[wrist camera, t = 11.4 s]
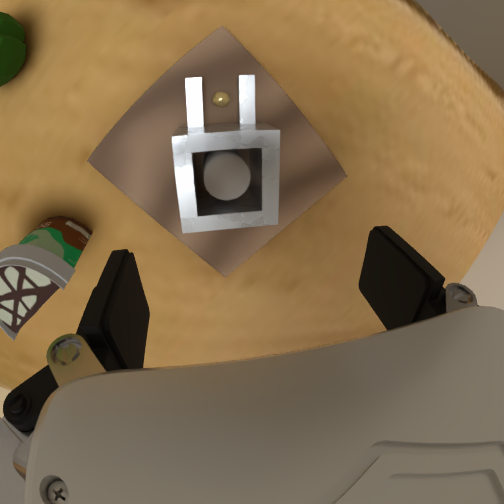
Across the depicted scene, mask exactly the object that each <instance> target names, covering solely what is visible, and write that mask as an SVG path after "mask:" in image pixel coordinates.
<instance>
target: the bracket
mask: <svg viewBox="0 0 504 504" xmlns="http://www.w3.org/2000/svg"><path fill="white" fill-rule="evenodd" d="M185 80H186V102H187V120H188V126H184V127H178V128H177V129H176V131H175V132H174V134H173V135H172V148H173V158H174V168H175V177H176V186H177V195H178V203H179V210H180V218H181V225H182V232H183V234H184V233H193V232H203V231H213V230H223V229H233V228H244V227H255V226H266V225H278V210H279V170H280V130H279V129H277V128H275V127H273V126H271V125H269V124H267V123H265V122H255V75H238V76H237V120H238V122H234V123H217V124H203V103H202V77H196V78H185ZM245 148H249V171H250V183H249V186H248V188H247V190H246V191H245V192H244V193H243V194H242V195H241V196H239V197H237V198H235V199H232V200H221V199H217V198H215V197H214V196H212V195H211V194H210V193H209V192H208V191H207V190H201V191H197V181H196V169H195V156H194V152H203V151H215V150H228V149H245Z"/></svg>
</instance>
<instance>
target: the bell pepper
mask: <svg viewBox="0 0 504 504" xmlns="http://www.w3.org/2000/svg"><path fill="white" fill-rule="evenodd" d="M24 38H25V32H24V29H23V26H22V25H21V24H20V23H19V22H18V21H17V20H15V19H14V18H13V17H12V16H10V15H9V14H6V13H2V12H0V87H1V86H2V85H4V84H6V83H8V82H9V81H10V80H11V79H12V78H13V77H14V76H15V75H16V74H17V73H18V72H19V70H20V68H21V66H22V64H23V63H24V61H25V57H26V45H25V44H24V43H23V41H24Z"/></svg>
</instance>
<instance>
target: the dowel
mask: <svg viewBox="0 0 504 504" xmlns="http://www.w3.org/2000/svg"><path fill="white" fill-rule="evenodd" d="M229 101H230V98H229V95H228V94H227V93H225V92H217V93H215V94H214V95H213V96H212V102H213V104H214V105H216V106H218V107H224V106H226V105H227V104H228V103H229Z"/></svg>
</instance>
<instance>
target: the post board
mask: <svg viewBox="0 0 504 504" xmlns="http://www.w3.org/2000/svg"><path fill="white" fill-rule="evenodd" d="M238 75H255V122H265V123H267V124H269V125H271V126H273V127H275V128H277V129H279V130H280V170H279V210H278V225H266V226H255V227H244V228H233V229H223V230H213V231H203V232H193V233H184V234H183V232H182V225H181V218H180V210H179V203H178V195H177V186H176V177H175V168H174V158H173V148H172V135H173V134H174V132H175V131H176V129H177V128H178V127H184V126H188V120H187V102H186V80H185V78H196V77H202V103H203V124H217V123H234V122H238V120H237V76H238ZM217 92H225V93H227V94H228V95H229V98H230V101H229V103H228V104H227V105H226V106H224V107H218V106H216V105H214V104H213V102H212V96H213V95H214V94H215V93H217ZM194 156H195V169H196V181H197V191H201V190H207V191H208V192H209V193H210V194H211V195H212V196H214V197H215V198H217V199H221V200H232V199H235V198H237V197H239V196H241V195H242V194H243V193H244V192H245V191H246V190H247V188H248V186H249V183H250V171H249V148H245V149H228V150H215V151H203V152H194ZM87 161H88V162H89V163H90V164H91V165H92V166H93V167H94V168H95V169H97V170H98V171H99V172H100V173H101V174H102V175H103V176H104V177H106V178H107V179H108V180H109V181H110V182H111V183H112V184H114V185H115V186H116V187H117V188H118V189H119V190H120V191H122V192H123V193H124V194H125V195H126V196H127V197H129V198H130V199H131V200H132V201H133V202H134V203H136V204H137V205H138V206H139V207H140V208H141V209H143V210H144V211H145V212H146V213H147V214H149V215H150V216H151V217H152V218H153V219H154V220H156V221H157V222H158V223H159V224H160V225H162V226H163V227H164V228H165V229H166V230H168V231H169V232H170V233H171V234H173V235H174V236H175V237H176V238H177V239H179V240H180V241H181V242H182V243H183V244H185V245H186V246H187V247H188V248H190V249H191V250H192V251H193V252H195V253H196V254H197V255H198V256H199V257H201V258H202V259H203V260H204V261H206V262H207V263H208V264H209V265H211V266H212V267H213V268H214V269H216V270H217V271H218V272H220V273H221V274H222V275H223V276H225V277H226V276H228V275H229V274H230V273H231V272H232V271H234V270H235V269H236V268H237V267H238V266H240V265H241V264H242V263H243V262H244V261H246V260H247V259H248V258H249V257H251V256H252V255H253V254H254V253H255V252H257V251H258V250H259V249H260V248H261V247H263V246H264V245H265V244H266V243H267V242H269V241H270V240H271V239H272V238H273V237H275V236H276V235H277V234H278V233H279V232H281V231H282V230H283V229H284V228H285V227H287V226H288V225H289V224H290V223H291V222H293V221H294V220H295V219H296V218H297V217H299V216H300V215H301V214H302V213H303V212H305V211H306V210H307V209H308V208H309V207H311V206H312V205H313V204H314V203H316V202H317V201H318V200H319V199H320V198H322V197H323V196H324V195H325V194H326V193H328V192H329V191H330V190H331V189H332V188H334V187H335V186H336V185H337V184H338V183H340V182H341V181H342V180H343V179H344V178H346V177H347V175H346V173H345V172H344V170H343V169H342V167H341V166H340V164H339V163H338V161H337V160H336V159H335V157H334V156H333V154H332V153H331V151H330V150H329V149H328V147H327V146H326V144H325V143H324V142H323V140H322V139H321V138H320V136H319V135H318V134H317V132H316V131H315V130H314V128H313V127H312V126H311V124H310V123H309V122H308V120H307V119H306V118H305V116H304V115H303V114H302V113H301V111H300V110H299V109H298V108H297V106H296V105H295V104H294V103H293V101H292V100H291V99H290V98H289V97H288V95H287V94H286V93H285V92H284V91H283V89H282V88H281V87H280V86H279V85H278V84H277V82H276V81H275V80H274V79H273V78H272V77H271V76H270V74H269V73H268V72H267V71H266V70H265V69H264V68H263V67H262V66H261V65H260V63H259V62H258V61H257V60H256V59H255V58H254V57H253V56H252V55H251V54H250V53H249V52H248V51H247V50H246V49H245V48H244V47H243V46H242V45H241V44H240V43H239V42H238V41H237V40H236V39H235V38H234V37H233V36H232V35H231V34H230V33H229V32H228V31H227V30H226V29H225V28H224V27H223V26H221V27H220V28H218V29H217V30H216V31H214V32H213V33H212V34H210V35H209V36H208V37H206V38H205V39H204V40H203V41H201V42H200V43H199V44H198V45H196V46H195V47H194V48H193V49H191V50H190V51H189V52H188V53H187V54H186V55H184V56H183V57H182V58H181V59H180V60H179V61H177V62H176V63H175V64H174V65H173V66H172V67H171V68H170V69H169V70H167V71H166V72H165V73H164V74H163V75H162V76H161V77H160V78H159V79H158V80H157V81H156V82H155V83H154V84H153V85H152V86H151V87H150V88H149V89H148V90H147V91H146V92H145V93H144V94H143V95H142V96H141V97H140V98H139V99H138V100H137V101H136V102H135V103H134V104H133V105H132V106H131V108H130V109H129V110H128V111H127V112H126V113H125V114H124V115H123V116H122V118H121V119H120V120H119V121H118V122H117V123H116V124H115V126H114V127H113V128H112V129H111V130H110V132H109V133H108V134H107V135H106V136H105V138H104V139H103V140H102V141H101V143H100V144H99V145H98V147H97V148H96V149H95V150H94V152H93V153H92V154H91V156H90V157H89V158H88V160H87Z"/></svg>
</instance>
